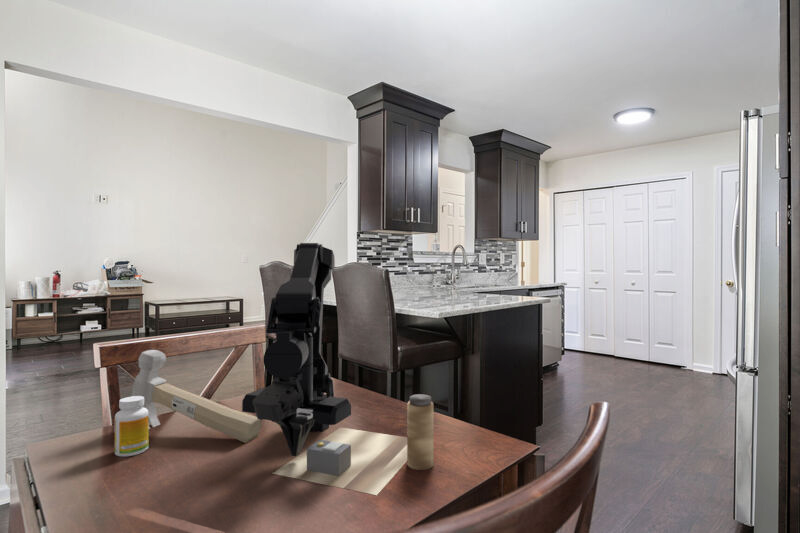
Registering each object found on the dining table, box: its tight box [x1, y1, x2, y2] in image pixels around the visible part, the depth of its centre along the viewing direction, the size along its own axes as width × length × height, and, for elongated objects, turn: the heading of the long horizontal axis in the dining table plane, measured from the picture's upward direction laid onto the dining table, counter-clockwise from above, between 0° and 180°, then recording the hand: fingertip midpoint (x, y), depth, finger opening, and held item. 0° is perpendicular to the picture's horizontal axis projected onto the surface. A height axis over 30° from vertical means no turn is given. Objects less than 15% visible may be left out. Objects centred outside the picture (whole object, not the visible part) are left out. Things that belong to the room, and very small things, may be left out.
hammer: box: [130, 349, 262, 444], centre depth 90 cm, size 16×5×30 cm
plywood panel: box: [272, 426, 407, 496], centre depth 77 cm, size 18×22×1 cm
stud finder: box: [306, 439, 351, 476], centre depth 72 cm, size 6×4×4 cm, turn 68°
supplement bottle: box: [114, 396, 150, 458], centre depth 81 cm, size 5×5×10 cm
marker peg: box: [406, 393, 434, 471], centre depth 74 cm, size 4×4×12 cm
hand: (295, 455), depth 75 cm, fingers closed
